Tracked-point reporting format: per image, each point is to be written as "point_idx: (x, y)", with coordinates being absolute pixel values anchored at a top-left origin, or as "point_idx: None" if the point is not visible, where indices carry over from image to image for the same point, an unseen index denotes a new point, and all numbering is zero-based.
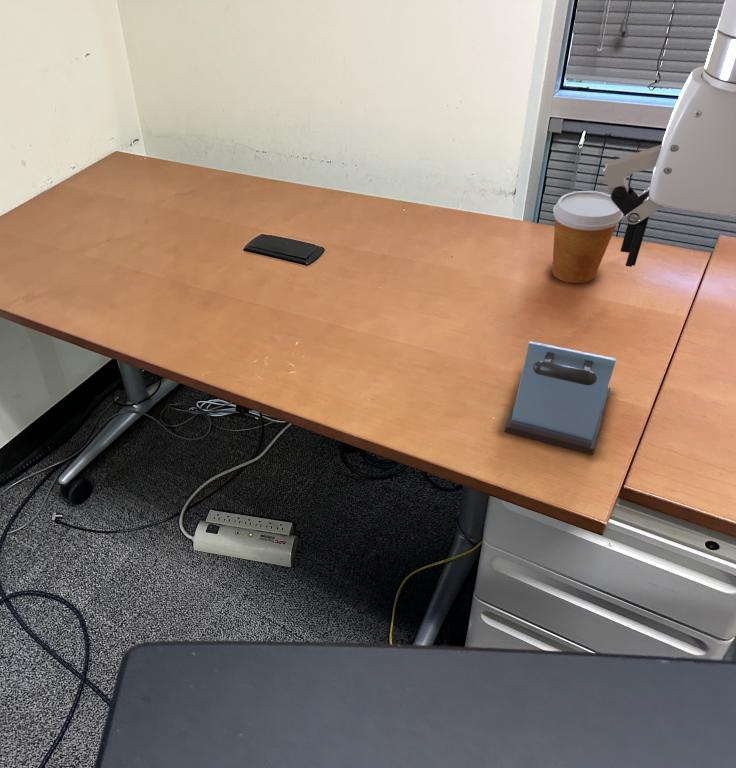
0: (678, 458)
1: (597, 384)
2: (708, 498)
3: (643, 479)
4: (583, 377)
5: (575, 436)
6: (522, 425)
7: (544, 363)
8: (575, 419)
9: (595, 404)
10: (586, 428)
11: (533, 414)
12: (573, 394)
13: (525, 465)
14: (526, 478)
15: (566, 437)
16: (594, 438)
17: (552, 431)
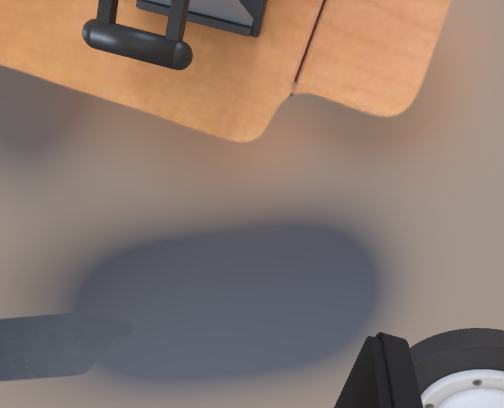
0: (377, 19)
1: (217, 4)
2: (394, 96)
3: (319, 74)
4: (166, 65)
5: (228, 24)
6: (154, 12)
7: (95, 38)
8: (217, 14)
9: (231, 13)
10: (237, 20)
11: (160, 1)
12: (192, 2)
13: (174, 74)
14: (177, 98)
15: (216, 27)
16: (259, 10)
17: (196, 17)
